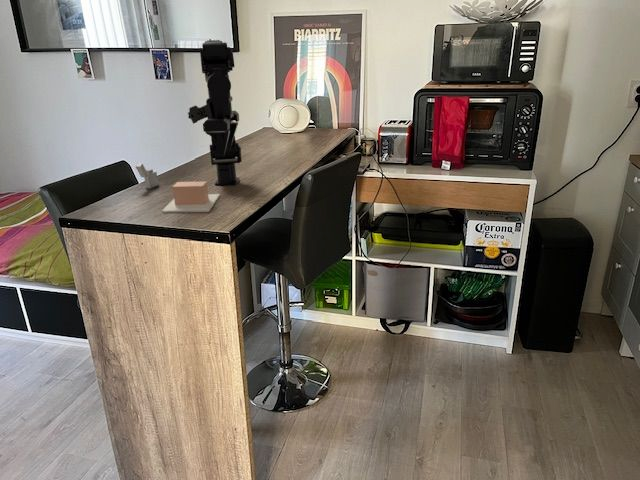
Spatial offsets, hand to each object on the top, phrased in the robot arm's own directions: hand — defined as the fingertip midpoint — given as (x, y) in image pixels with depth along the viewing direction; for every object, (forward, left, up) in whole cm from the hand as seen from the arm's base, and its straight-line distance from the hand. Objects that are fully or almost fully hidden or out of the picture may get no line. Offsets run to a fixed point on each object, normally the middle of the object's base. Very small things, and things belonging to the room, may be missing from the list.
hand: (225, 152), depth 138 cm
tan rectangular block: (+8, -9, -12) cm, 16 cm away
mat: (+8, -9, -12) cm, 17 cm away
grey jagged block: (-9, -26, -12) cm, 30 cm away
